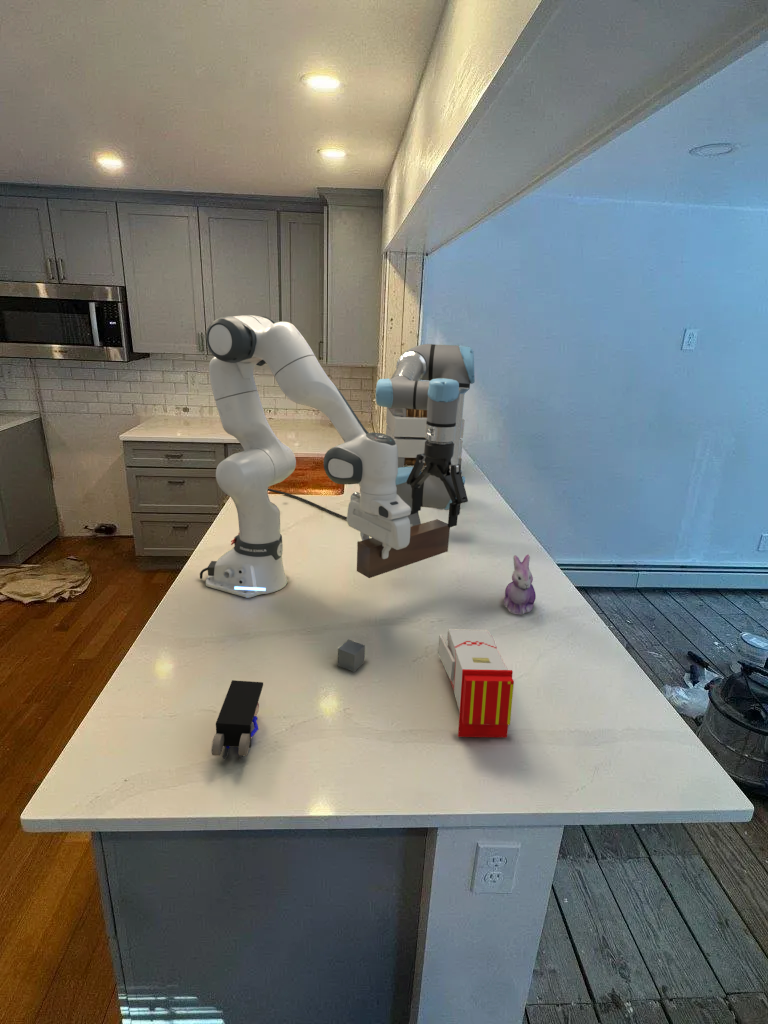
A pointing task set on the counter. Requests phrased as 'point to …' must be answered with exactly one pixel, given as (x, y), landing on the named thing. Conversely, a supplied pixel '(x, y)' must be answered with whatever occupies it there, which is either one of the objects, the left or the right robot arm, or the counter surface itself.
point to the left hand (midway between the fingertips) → (375, 553)
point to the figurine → (520, 588)
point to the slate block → (351, 655)
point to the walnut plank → (403, 549)
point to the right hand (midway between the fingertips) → (433, 518)
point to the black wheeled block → (237, 718)
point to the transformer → (410, 433)
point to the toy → (478, 682)
